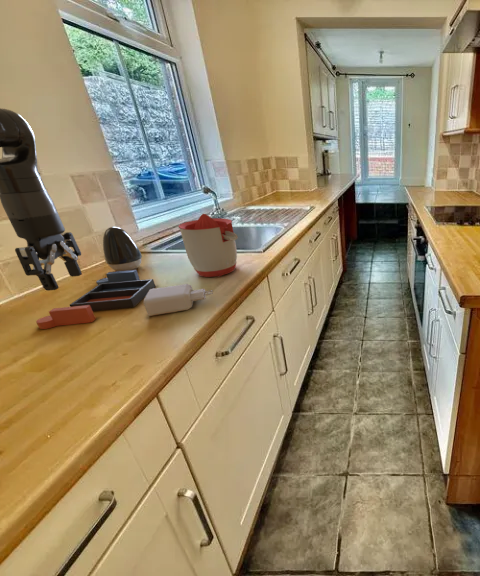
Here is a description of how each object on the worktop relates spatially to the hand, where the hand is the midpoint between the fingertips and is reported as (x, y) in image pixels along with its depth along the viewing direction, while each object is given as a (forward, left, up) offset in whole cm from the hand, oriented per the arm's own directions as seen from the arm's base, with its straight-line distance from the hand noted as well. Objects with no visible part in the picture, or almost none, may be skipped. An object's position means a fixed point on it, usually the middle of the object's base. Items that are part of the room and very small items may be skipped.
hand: (65, 282), depth 75 cm
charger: (+22, +4, -11) cm, 25 cm away
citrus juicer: (+25, +29, -11) cm, 40 cm away
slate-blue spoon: (-3, +25, -11) cm, 27 cm away
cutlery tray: (+2, +13, -11) cm, 17 cm away
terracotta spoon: (-3, 0, -11) cm, 11 cm away
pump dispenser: (-7, +40, -11) cm, 42 cm away
